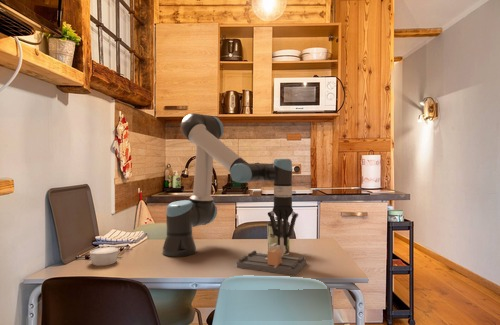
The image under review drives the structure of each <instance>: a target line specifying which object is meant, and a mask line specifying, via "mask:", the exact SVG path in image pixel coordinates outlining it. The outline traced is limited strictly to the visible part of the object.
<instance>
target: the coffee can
mask: <svg viewBox="0 0 500 325" xmlns="http://www.w3.org/2000/svg"><path fill="white" fill-rule="evenodd" d="M275 222H276V226H277V225H278V221H277V220H275ZM290 223H291V222H289V221H288V231H289V227H290ZM266 225H267V253H266V254H268V251H269V250H270V245H272V244H273V243H278V237H277V236H275V235H273V230H272V226H271V221H267V223H266ZM282 237H283V220H282ZM289 254H290V237H288V244H287V245H286V246H285V253H284V254H283V256H288V255H289Z"/></svg>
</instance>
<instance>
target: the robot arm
mask: <svg viewBox="0 0 500 325" xmlns="http://www.w3.org/2000/svg"><path fill="white" fill-rule="evenodd" d="M180 130H181V133H182V135H183V136H184V138H186V139H187V140H188V141H189V142H190V143H193V144H195V146H196V149H195V150H196V151H195V161H194V162H195V163H194V165H195V166H194V176H193V177H194V180H193V189H192V194H191V195H190V197H189V200H187V199H184V200H177V201H173V202H170V203H169V204H167V205H166V212H165V215H166V237H165V239H164V244H163V246H162V254H163V255H164V256H167V257H175V258H176V257H186V256H191V255H194V254H196V252H197V246H196V243H195V240H194V236H193V228H195V227H199V226H206V225H208V224H210V223H212V222H214V221H215V219H216V218H217V215H218V214H217V213H218V209H217V208H218V207H217V206H216V203H215V202H214V198H213V197H212V195H211V192H212V184H213V183H212V181H213V168H214V161H217V163H218V164H220V166H222V167H223V168H225V169H226V170H227V171H228V172H229V175H230V177H231V179H232V181H234V182H236V183H241V184H242V183H243V184H244V183H252V182H253V183H254V182H255V183H256V182H273V195H274V196H273V208H272V210H271V211H268V212H267V215H268V217H269V220H270V221H271V226H272V230H273V235H275V236H277V237H278V245H280V250H282V254H284V253H285V246H286V245H287V244H288V237H289V238H290V237H292V236H293V233H294V228H295V225H296V221H297V218H298V217H299V213H296V212H295V211H294V209H293V197H292V195H293V161H292V160H291V159H290V158H274V160H273V163H260V162H257V163H253V162H252V163H249V162H248V161H246V160H245V159H244V158H242V157H241V156H240V155H238V154H237V153H236V152H235V151H234V150H232V149H231V148H230V147H229V146H228V145H226V144H225V143H224V142H223V141H221V140H220V139H221V138H222V137H223V135H224V124H223V122H222V120H221V119H219V117H217V116H213V115H208V114H207V115H206V114H200V113H197V112H195V113H194V112H193V113H188V114H187V115H186V116H184V117H183V119H182V120H181V122H180ZM275 216H276V217H275ZM290 217H291V220H290V222H289V218H290ZM275 221H278V225H277V226H276V222H275ZM282 221H283V237H282ZM288 222H289V223H290V224H289V231H288Z"/></svg>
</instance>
